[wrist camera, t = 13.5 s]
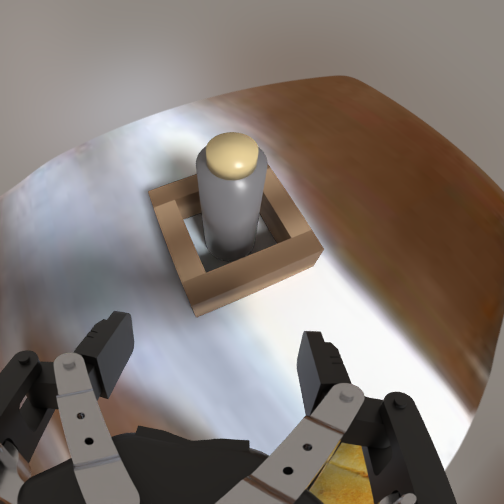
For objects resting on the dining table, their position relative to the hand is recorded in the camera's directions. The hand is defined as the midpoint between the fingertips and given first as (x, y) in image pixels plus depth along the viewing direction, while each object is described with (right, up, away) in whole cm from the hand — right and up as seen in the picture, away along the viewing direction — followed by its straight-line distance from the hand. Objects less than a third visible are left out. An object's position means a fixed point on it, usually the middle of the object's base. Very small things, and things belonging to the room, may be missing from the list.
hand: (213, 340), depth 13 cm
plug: (0, +5, +11) cm, 12 cm away
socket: (0, +5, +11) cm, 12 cm away
